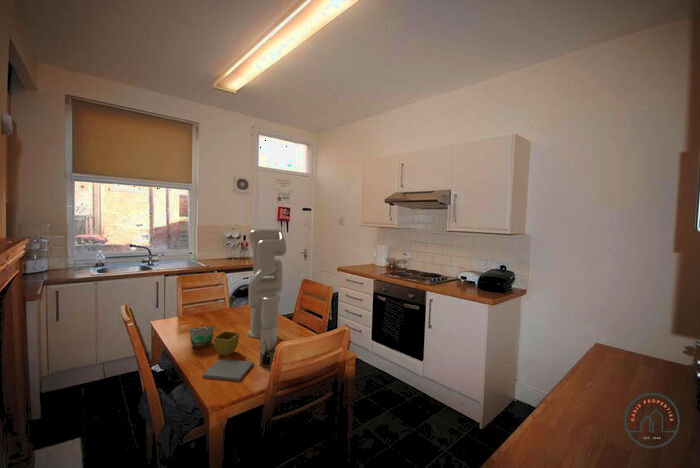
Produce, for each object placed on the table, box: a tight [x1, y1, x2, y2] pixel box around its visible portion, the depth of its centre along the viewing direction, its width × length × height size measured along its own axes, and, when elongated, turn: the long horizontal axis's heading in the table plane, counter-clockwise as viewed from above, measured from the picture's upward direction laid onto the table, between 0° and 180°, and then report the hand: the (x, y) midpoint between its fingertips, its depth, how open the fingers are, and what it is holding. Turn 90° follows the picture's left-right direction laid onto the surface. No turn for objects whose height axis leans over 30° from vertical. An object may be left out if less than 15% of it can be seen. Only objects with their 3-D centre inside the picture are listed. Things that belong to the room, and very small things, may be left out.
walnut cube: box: [259, 347, 276, 367], centre depth 145 cm, size 6×6×6 cm
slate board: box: [202, 358, 255, 382], centre depth 137 cm, size 14×16×1 cm
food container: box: [187, 324, 216, 350], centre depth 158 cm, size 12×6×10 cm, turn 117°
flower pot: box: [213, 330, 240, 357], centre depth 152 cm, size 9×9×9 cm
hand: (268, 360), depth 145 cm, fingers closed on walnut cube, 6 cm apart
